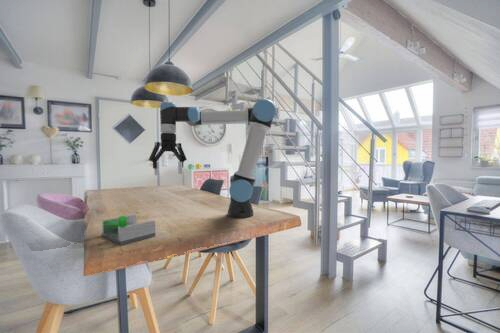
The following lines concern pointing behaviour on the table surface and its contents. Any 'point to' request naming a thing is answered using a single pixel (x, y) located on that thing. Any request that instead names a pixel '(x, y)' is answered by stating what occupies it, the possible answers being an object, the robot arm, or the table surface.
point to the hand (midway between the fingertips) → (169, 174)
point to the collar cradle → (127, 230)
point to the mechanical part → (122, 221)
